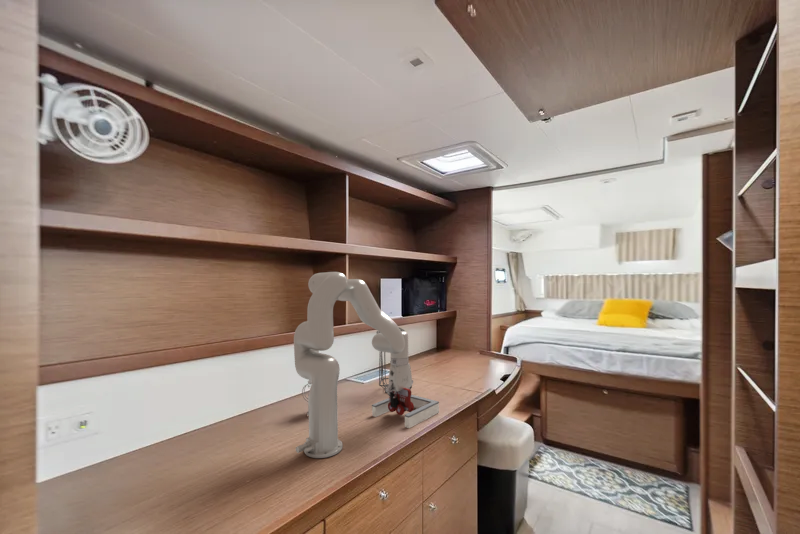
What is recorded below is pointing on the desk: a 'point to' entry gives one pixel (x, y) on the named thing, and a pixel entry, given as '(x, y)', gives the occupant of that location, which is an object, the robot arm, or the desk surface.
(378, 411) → the white u-shaped wall
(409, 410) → the toy fire truck
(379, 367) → the geometric lantern
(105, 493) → the desk surface
